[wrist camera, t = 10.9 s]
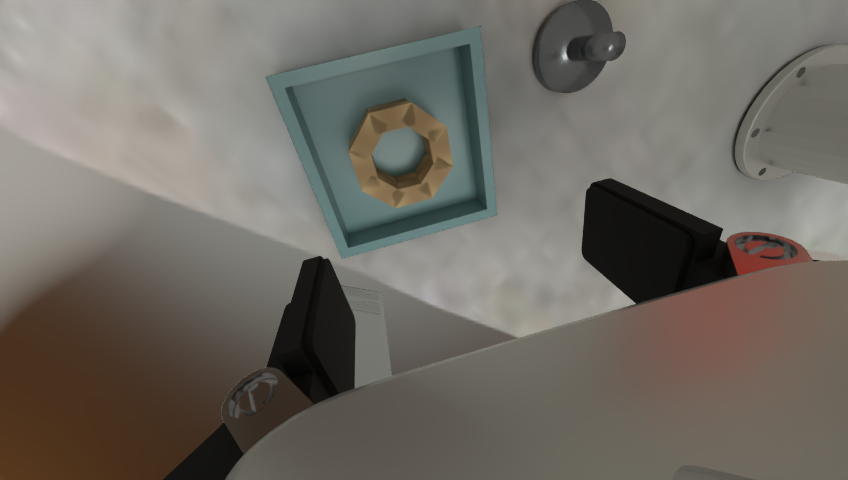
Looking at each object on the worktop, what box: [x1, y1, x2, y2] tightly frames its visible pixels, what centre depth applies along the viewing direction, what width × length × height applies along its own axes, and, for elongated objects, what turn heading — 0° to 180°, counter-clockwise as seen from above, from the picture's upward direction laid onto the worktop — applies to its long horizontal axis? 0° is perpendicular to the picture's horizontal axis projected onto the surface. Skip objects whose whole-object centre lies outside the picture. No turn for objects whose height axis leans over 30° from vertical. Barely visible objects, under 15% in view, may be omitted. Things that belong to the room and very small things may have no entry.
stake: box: [533, 0, 626, 93], centre depth 22 cm, size 6×6×5 cm
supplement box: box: [341, 285, 392, 388], centre depth 27 cm, size 7×7×13 cm
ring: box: [349, 99, 453, 208], centre depth 23 cm, size 7×7×3 cm
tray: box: [266, 26, 497, 259], centre depth 24 cm, size 14×14×3 cm
